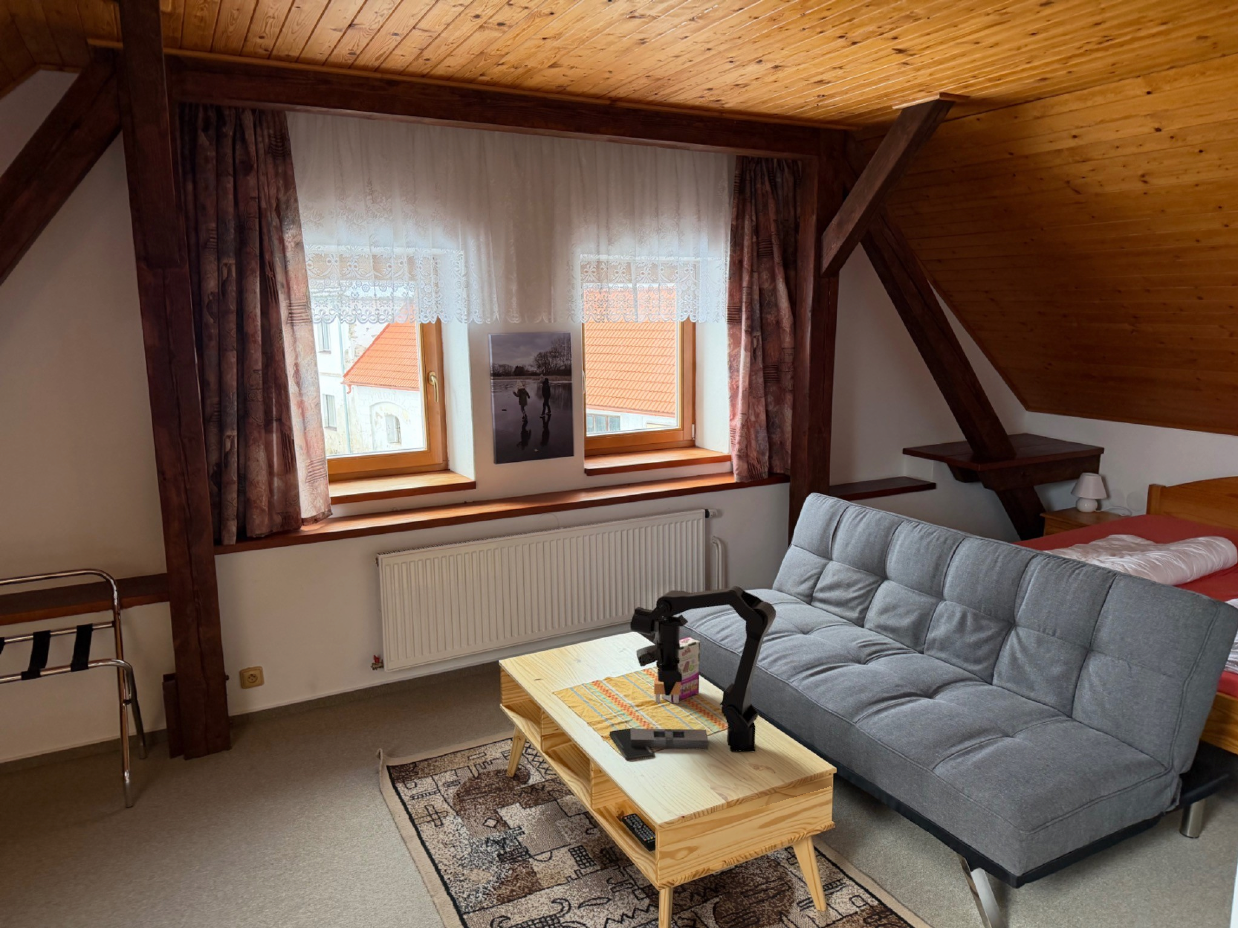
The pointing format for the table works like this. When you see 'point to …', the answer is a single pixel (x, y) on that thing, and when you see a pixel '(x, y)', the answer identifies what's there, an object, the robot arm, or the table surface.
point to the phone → (629, 745)
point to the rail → (669, 738)
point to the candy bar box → (688, 668)
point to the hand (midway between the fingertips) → (667, 692)
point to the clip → (660, 690)
